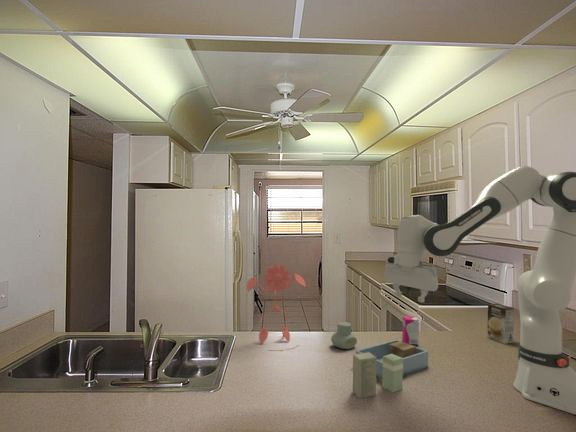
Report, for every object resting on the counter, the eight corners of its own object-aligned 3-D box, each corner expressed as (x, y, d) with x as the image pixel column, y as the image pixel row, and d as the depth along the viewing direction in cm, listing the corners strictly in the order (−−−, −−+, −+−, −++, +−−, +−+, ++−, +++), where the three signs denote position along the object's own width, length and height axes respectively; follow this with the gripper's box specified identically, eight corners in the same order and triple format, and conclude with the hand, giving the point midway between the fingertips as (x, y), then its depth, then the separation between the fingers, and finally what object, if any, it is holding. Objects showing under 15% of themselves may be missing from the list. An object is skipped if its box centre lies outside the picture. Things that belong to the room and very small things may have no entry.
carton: (402, 388, 112) (403, 358, 112) (393, 392, 110) (393, 361, 110) (391, 383, 116) (391, 353, 116) (382, 386, 114) (382, 356, 114)
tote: (427, 366, 130) (428, 351, 130) (385, 382, 117) (386, 364, 117) (396, 353, 142) (396, 339, 142) (355, 366, 129) (355, 350, 129)
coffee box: (486, 337, 164) (486, 303, 164) (495, 336, 167) (496, 303, 167) (504, 344, 156) (505, 308, 156) (514, 342, 158) (514, 307, 158)
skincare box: (369, 389, 112) (369, 351, 112) (376, 396, 107) (377, 357, 107) (351, 391, 110) (352, 353, 110) (358, 398, 105) (359, 359, 106)
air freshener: (346, 341, 155) (346, 319, 155) (359, 347, 148) (360, 324, 148) (327, 346, 149) (328, 323, 149) (341, 352, 142) (341, 328, 142)
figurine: (244, 339, 154) (246, 261, 153) (299, 336, 159) (302, 261, 159) (247, 354, 139) (250, 267, 138) (309, 350, 144) (311, 267, 144)
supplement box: (414, 341, 157) (415, 316, 157) (418, 346, 151) (419, 320, 151) (401, 340, 158) (402, 315, 158) (405, 345, 152) (405, 319, 152)
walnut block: (415, 362, 132) (415, 346, 132) (403, 366, 128) (404, 350, 128) (400, 355, 138) (400, 340, 138) (388, 359, 134) (389, 344, 134)
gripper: (442, 263, 115) (441, 304, 115) (393, 256, 132) (392, 292, 132) (431, 264, 112) (430, 306, 112) (382, 257, 129) (381, 294, 129)
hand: (409, 299), depth 122 cm, fingers open, 8 cm apart
